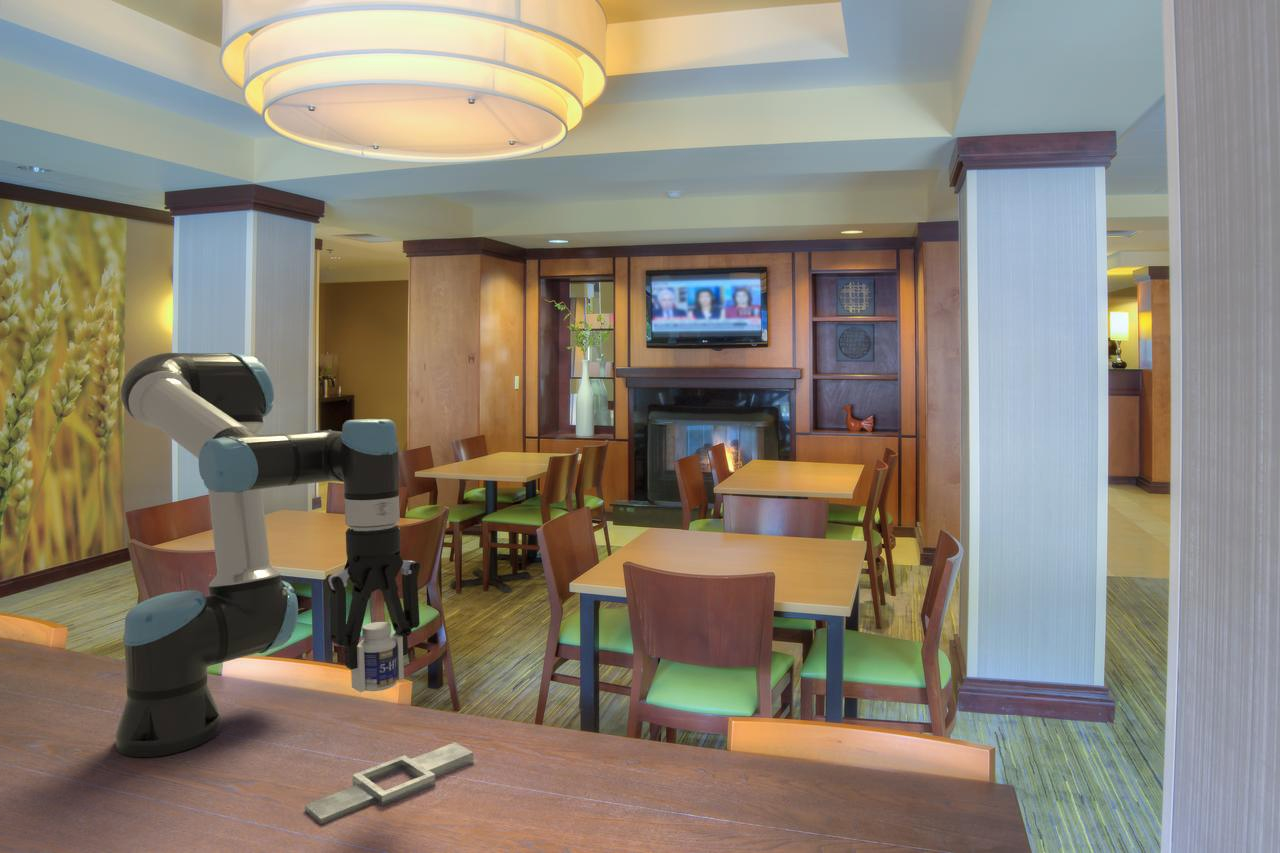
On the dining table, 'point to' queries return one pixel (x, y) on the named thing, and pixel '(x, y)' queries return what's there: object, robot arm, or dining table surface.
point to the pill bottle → (379, 656)
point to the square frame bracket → (369, 793)
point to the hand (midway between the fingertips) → (378, 683)
